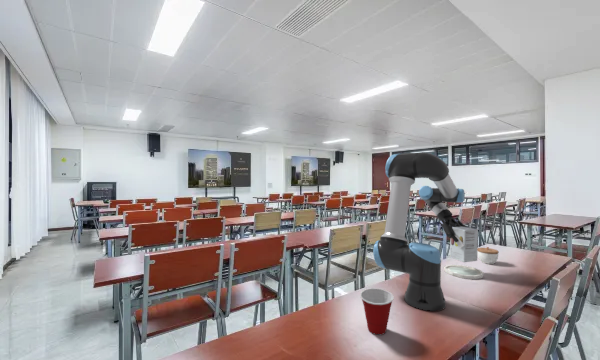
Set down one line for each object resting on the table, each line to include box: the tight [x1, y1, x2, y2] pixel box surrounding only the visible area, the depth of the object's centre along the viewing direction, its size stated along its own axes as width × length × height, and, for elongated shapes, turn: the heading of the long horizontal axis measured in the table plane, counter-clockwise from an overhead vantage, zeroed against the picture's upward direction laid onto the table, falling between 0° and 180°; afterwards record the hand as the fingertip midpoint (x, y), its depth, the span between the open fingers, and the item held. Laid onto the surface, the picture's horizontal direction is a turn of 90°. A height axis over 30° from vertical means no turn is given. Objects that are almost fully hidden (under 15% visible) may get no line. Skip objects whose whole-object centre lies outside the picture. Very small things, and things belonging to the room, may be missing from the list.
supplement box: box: [449, 226, 479, 263], centre depth 148 cm, size 10×9×17 cm
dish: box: [443, 264, 485, 280], centre depth 147 cm, size 18×18×2 cm
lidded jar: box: [477, 246, 499, 265], centre depth 166 cm, size 11×11×9 cm
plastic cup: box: [359, 287, 395, 335], centre depth 91 cm, size 11×11×12 cm
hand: (469, 245), depth 145 cm, fingers closed on supplement box, 10 cm apart
